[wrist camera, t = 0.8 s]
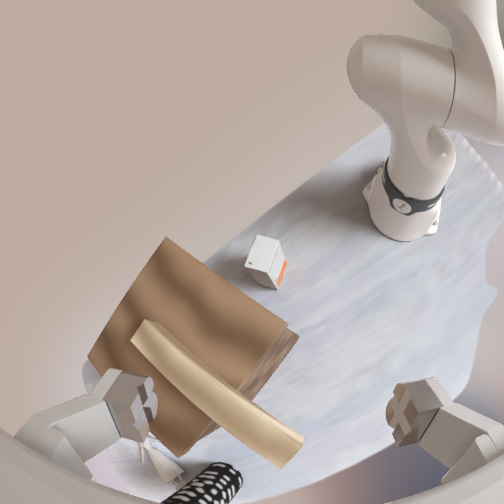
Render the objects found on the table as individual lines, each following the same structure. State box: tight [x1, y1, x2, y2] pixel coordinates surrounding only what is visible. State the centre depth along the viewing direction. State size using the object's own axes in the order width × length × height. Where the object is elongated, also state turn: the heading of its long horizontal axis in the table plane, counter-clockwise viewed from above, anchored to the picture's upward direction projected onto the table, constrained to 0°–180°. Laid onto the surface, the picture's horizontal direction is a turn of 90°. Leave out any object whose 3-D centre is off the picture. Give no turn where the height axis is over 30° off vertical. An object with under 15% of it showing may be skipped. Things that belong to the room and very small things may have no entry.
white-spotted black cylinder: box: [161, 462, 243, 504], centre depth 34 cm, size 8×8×20 cm
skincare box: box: [244, 234, 287, 290], centre depth 51 cm, size 6×4×12 cm
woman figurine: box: [139, 436, 187, 490], centre depth 46 cm, size 12×4×18 cm
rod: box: [130, 319, 304, 469], centre depth 24 cm, size 3×20×3 cm, turn 54°
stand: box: [88, 237, 299, 458], centre depth 40 cm, size 20×18×26 cm
